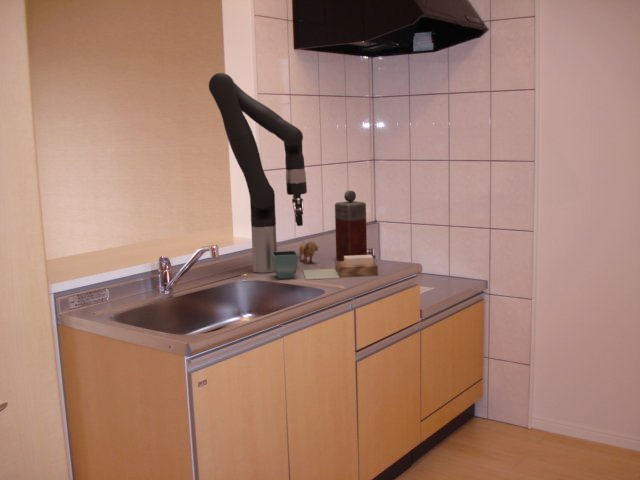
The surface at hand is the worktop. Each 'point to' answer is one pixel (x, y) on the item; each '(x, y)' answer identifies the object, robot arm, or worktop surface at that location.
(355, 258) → the beige flat block
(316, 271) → the mat
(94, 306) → the worktop surface
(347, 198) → the red drink dispenser
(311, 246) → the lion figurine
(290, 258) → the flower pot
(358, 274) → the brown wooden block
